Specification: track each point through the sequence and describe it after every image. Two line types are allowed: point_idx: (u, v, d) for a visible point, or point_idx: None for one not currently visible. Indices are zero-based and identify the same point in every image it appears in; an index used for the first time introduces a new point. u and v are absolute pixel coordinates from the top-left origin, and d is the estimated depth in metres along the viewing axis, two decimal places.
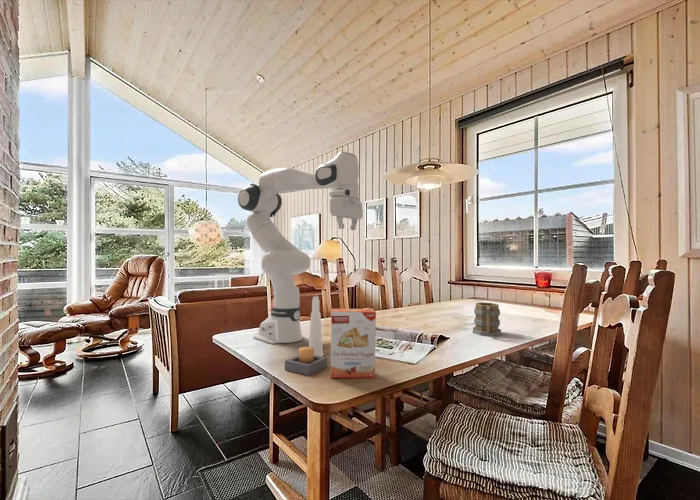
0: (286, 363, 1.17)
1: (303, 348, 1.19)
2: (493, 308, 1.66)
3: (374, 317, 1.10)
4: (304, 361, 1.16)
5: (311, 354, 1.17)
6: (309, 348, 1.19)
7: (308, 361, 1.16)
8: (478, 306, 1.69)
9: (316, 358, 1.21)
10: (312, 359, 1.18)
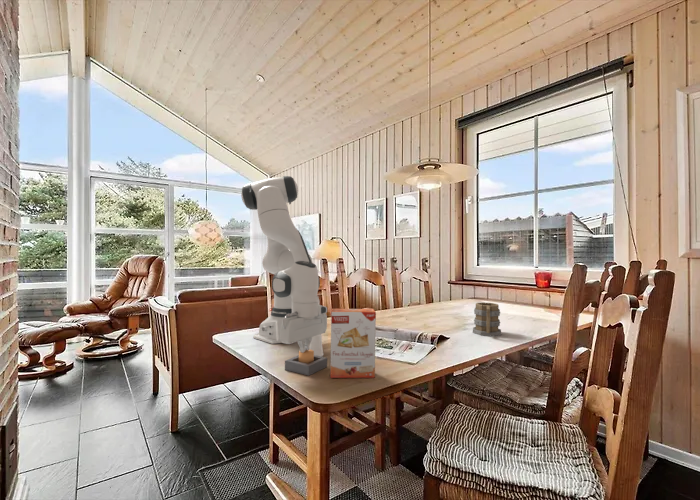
0: (286, 363, 1.17)
1: None
2: (493, 308, 1.66)
3: (374, 317, 1.10)
4: None
5: (311, 357, 1.17)
6: (309, 351, 1.19)
7: None
8: (478, 306, 1.69)
9: (316, 358, 1.21)
10: None
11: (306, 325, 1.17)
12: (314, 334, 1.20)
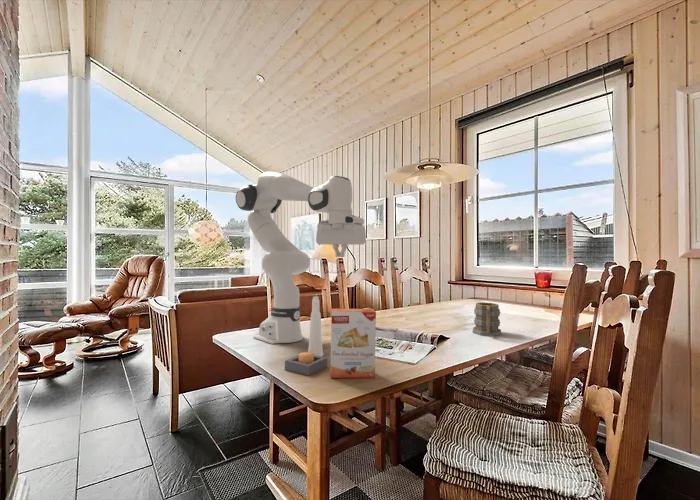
0: (286, 363, 1.17)
1: (303, 353, 1.19)
2: (493, 308, 1.66)
3: (374, 317, 1.10)
4: None
5: (311, 360, 1.17)
6: (309, 354, 1.19)
7: None
8: (478, 306, 1.69)
9: (316, 358, 1.21)
10: None
11: (335, 232, 1.31)
12: (344, 242, 1.29)
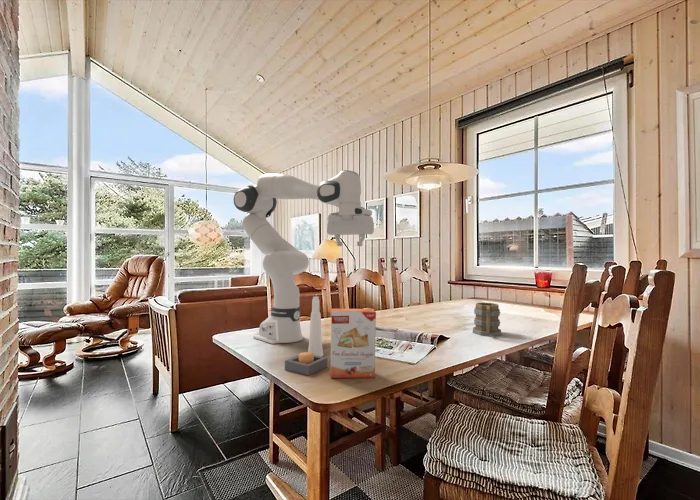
0: (286, 363, 1.17)
1: (303, 353, 1.19)
2: (493, 308, 1.66)
3: (374, 317, 1.10)
4: None
5: (311, 360, 1.17)
6: (309, 354, 1.19)
7: None
8: (478, 306, 1.69)
9: (316, 358, 1.21)
10: None
11: (345, 223, 1.41)
12: (353, 232, 1.38)
